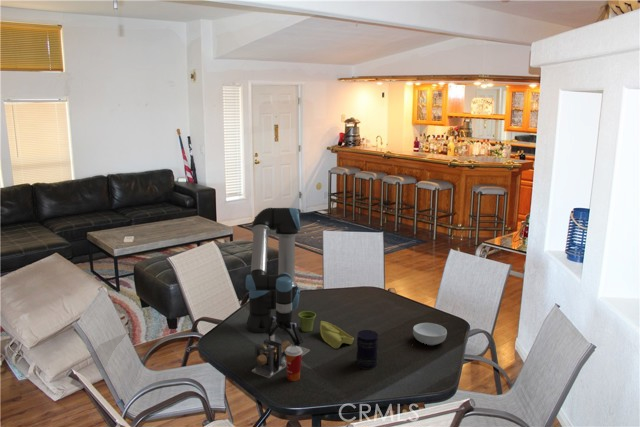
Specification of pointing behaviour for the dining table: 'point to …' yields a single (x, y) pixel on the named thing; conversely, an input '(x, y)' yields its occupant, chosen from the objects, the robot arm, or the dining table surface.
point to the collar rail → (273, 364)
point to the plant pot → (306, 320)
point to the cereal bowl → (429, 333)
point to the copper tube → (264, 357)
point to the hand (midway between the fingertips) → (283, 352)
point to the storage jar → (367, 349)
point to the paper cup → (293, 362)
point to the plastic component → (334, 335)
